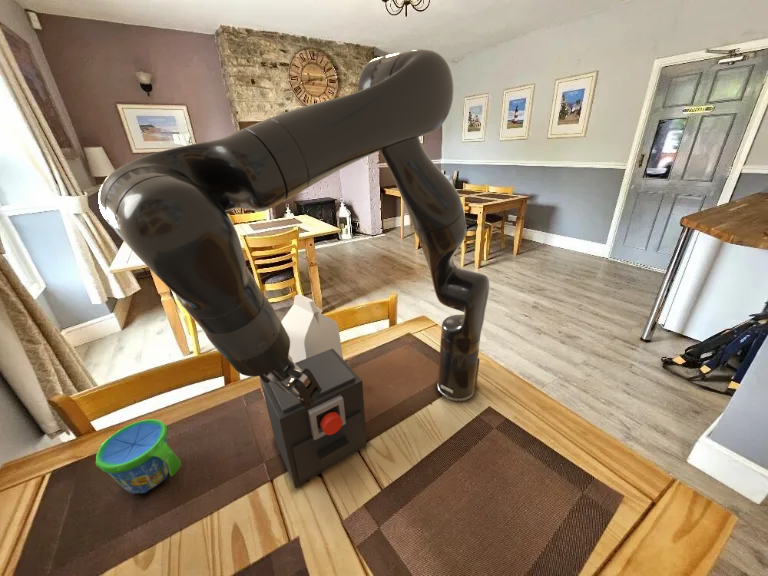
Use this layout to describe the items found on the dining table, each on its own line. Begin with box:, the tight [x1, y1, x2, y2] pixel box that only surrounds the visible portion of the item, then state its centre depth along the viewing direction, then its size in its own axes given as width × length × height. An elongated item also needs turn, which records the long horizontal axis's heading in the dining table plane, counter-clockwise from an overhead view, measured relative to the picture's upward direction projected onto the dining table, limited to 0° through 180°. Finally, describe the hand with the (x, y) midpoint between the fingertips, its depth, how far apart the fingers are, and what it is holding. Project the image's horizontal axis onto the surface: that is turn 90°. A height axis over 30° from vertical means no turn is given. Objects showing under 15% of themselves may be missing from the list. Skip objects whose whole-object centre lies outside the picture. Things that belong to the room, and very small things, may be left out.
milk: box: [280, 293, 344, 363], centre depth 80 cm, size 12×12×26 cm
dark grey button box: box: [259, 348, 368, 489], centre depth 63 cm, size 16×16×19 cm
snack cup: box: [94, 418, 182, 495], centre depth 60 cm, size 16×10×10 cm
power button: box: [321, 412, 343, 435], centre depth 55 cm, size 4×2×4 cm, turn 124°
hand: (289, 389), depth 49 cm, fingers open, 8 cm apart
